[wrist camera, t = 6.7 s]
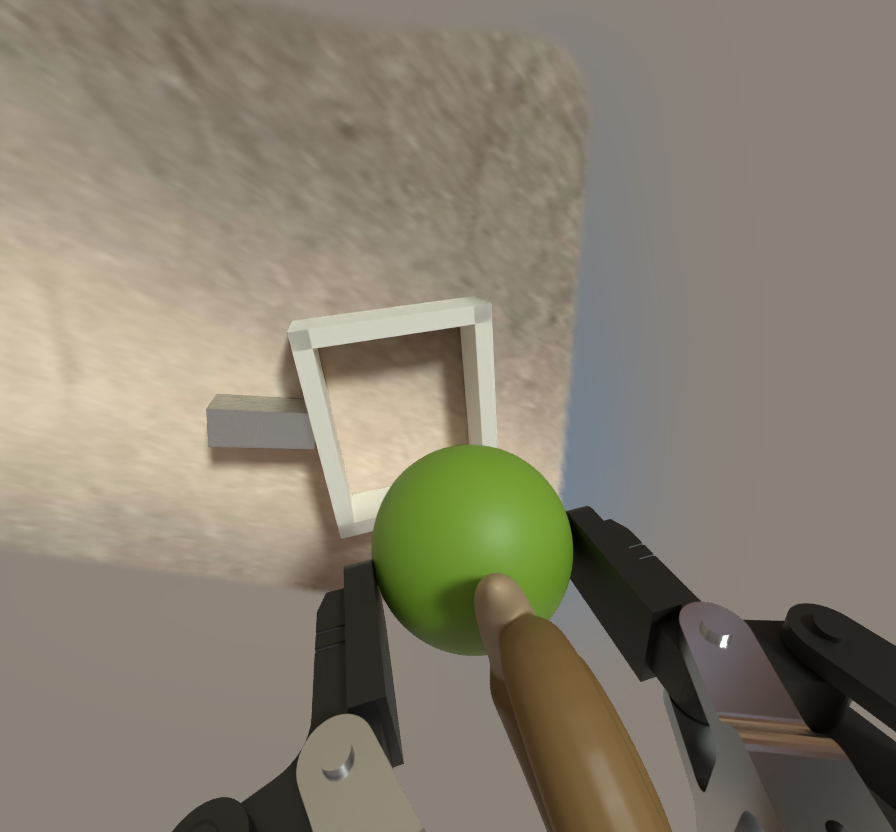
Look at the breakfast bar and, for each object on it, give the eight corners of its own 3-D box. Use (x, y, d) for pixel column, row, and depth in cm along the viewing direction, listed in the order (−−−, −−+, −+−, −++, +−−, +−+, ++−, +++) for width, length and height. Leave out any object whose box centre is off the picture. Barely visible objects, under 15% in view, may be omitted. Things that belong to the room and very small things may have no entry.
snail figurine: (410, 592, 15) (586, 1443, 4) (336, 455, 12) (337, 1962, 2) (541, 533, 16) (985, 1175, 5) (501, 388, 13) (1371, 1188, 2)
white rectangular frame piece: (276, 584, 24) (270, 620, 21) (183, 335, 17) (162, 350, 15) (489, 529, 26) (504, 555, 24) (475, 295, 20) (493, 303, 18)
